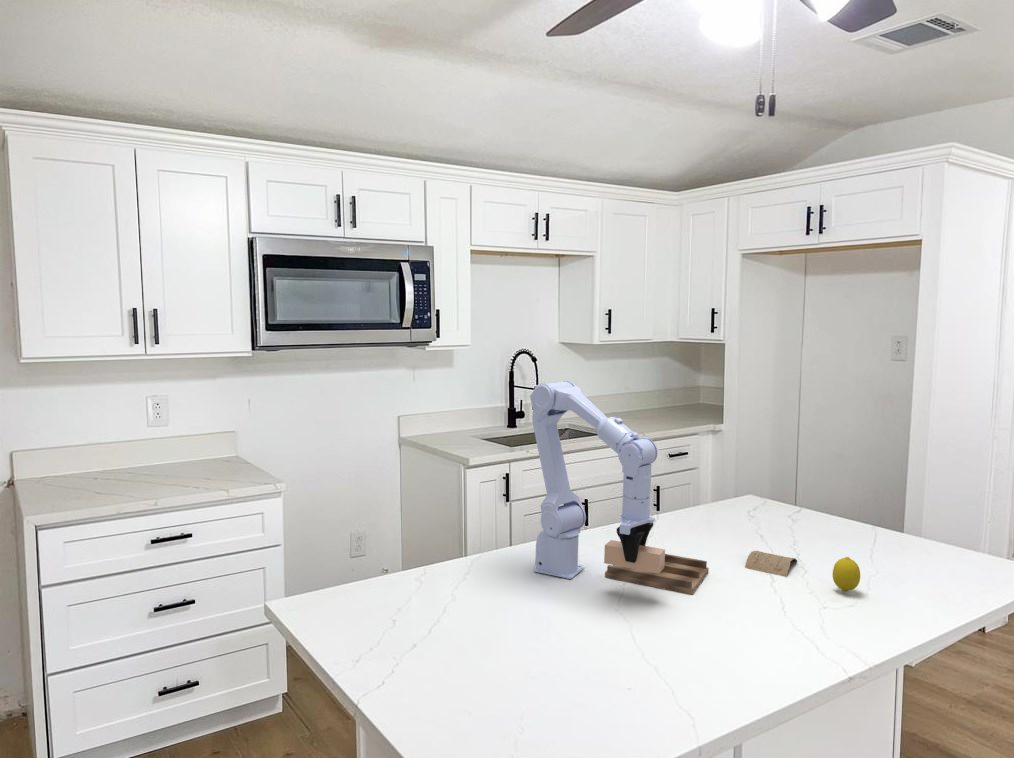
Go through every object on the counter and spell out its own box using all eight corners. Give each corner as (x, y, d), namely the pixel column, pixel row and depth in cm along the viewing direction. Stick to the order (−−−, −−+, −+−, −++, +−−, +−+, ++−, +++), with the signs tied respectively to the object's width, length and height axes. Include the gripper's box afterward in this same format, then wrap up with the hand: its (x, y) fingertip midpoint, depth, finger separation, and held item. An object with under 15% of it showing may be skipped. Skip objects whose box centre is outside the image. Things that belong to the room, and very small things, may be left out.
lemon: (830, 594, 163) (832, 558, 163) (832, 585, 168) (834, 551, 167) (858, 599, 161) (860, 563, 160) (859, 590, 166) (862, 555, 165)
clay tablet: (786, 580, 173) (787, 569, 172) (742, 571, 178) (742, 560, 178) (798, 562, 185) (799, 551, 185) (756, 554, 190) (756, 544, 190)
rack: (604, 577, 171) (605, 565, 170) (626, 557, 184) (626, 547, 184) (692, 594, 162) (693, 582, 161) (708, 572, 175) (708, 561, 175)
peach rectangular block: (604, 563, 160) (604, 545, 160) (610, 557, 164) (611, 539, 163) (658, 573, 155) (659, 554, 154) (664, 567, 158) (665, 549, 158)
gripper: (644, 506, 150) (641, 572, 151) (664, 490, 162) (662, 551, 164) (610, 501, 153) (608, 566, 154) (633, 486, 166) (631, 546, 167)
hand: (634, 558), depth 159 cm, fingers closed on peach rectangular block, 4 cm apart
